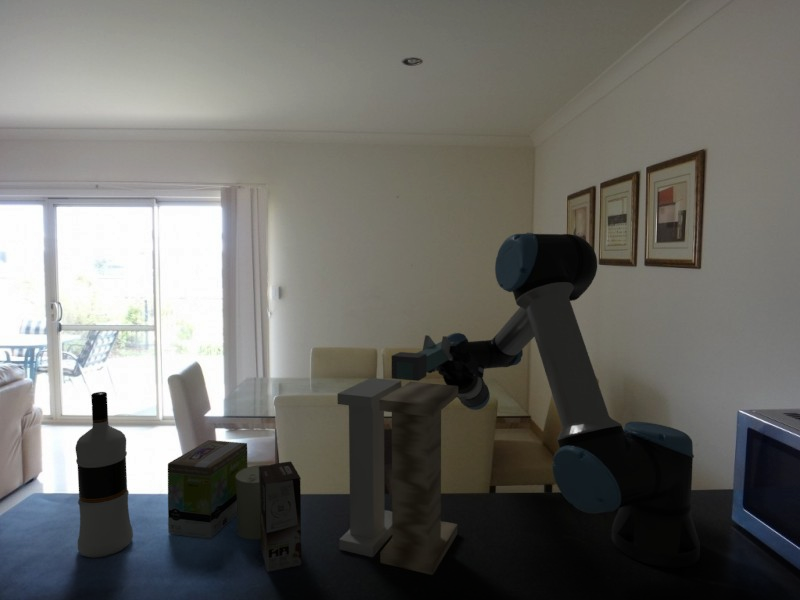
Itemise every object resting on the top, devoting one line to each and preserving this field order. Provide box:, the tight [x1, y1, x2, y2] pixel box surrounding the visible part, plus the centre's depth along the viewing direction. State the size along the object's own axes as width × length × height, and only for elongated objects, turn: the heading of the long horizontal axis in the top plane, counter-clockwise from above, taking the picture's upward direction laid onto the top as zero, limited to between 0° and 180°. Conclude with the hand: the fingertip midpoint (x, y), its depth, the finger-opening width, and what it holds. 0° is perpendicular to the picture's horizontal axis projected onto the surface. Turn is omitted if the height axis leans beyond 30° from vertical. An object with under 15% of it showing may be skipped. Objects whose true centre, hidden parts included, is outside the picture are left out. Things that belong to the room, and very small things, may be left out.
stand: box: [336, 377, 402, 558], centre depth 104 cm, size 7×14×30 cm, turn 157°
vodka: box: [74, 391, 134, 559], centre depth 100 cm, size 9×9×30 cm
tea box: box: [167, 439, 249, 539], centre depth 111 cm, size 15×10×15 cm
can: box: [236, 464, 268, 540], centre depth 108 cm, size 9×9×12 cm
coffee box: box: [259, 461, 302, 573], centre depth 97 cm, size 9×6×16 cm
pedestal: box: [379, 381, 458, 576], centre depth 99 cm, size 10×15×30 cm, turn 157°
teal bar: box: [391, 341, 455, 382], centre depth 103 cm, size 5×25×4 cm, turn 157°
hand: (434, 342), depth 105 cm, fingers closed on teal bar, 3 cm apart
